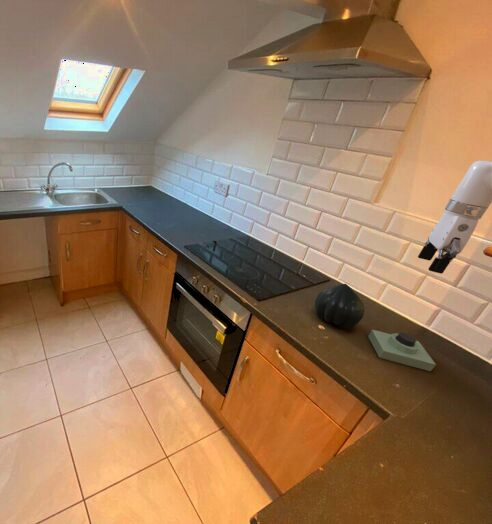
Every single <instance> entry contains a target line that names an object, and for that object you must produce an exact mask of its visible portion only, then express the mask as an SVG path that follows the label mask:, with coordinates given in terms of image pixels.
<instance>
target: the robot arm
mask: <svg viewBox="0 0 492 524" xmlns="http://www.w3.org/2000/svg"><path fill="white" fill-rule="evenodd" d="M490 205H492V160H484V159H483V160H482V159H481V160H476V161H474V162H473V163H471V165H470V166H469V167H468V169H467V171H466V173H465V174H464V175H463V177H462V179H461V181H460V183H459V184H458V185H457V187H456V189H455V191H454V192H453V193H452V195H451V197H450V199H449V200H448V202H447V204H446V206H445V207H444V209H443V212H444V213H443V214H442V215H441V217H440V219H439V220H438V221H437V223H436V224H435V226H434V227H433V229H432V230H431V232H430V234H429V236H428V237H427V241H426V242H425V243H424V245H423V247H422V249H421V250H420V252H419V253H418V255H417V258H418V259H422V260H425V261H432V262H431V264H430V265H429V267H428V269H427V270H428V271H429V272H431V273H432V272H433V273H437V274H440V275H441V274H444V272H445V271H446V269H447V267H448V266H449V265H450V263H451V262H453V260H454V259H456V258H457V255H459V254H461V253H462V252H463V250H464V249H465V247H466V245H467V244H468V242H469V241H470V239H471V237H472V235H473V233H474V231H475V230H476V227H477V225H478V223H479V220H481V219H482V218H483V216H484V215H485V213H486V212H487V210H488V208H489V207H490ZM437 251H438V254H437V257H434V256H435V254H436V253H437ZM433 258H434V259H433ZM432 259H433V260H432Z"/></svg>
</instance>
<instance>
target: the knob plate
mask: <svg viewBox="0 0 492 524" xmlns="http://www.w3.org/2000/svg"><path fill="white" fill-rule="evenodd" d="M398 335H399V333H387V332H383V331H380V330H375V329H371V330H370V331H369V333H368V334H367V337H368V339H369V341H370V342H371V345H372V347H373V348H374V350H375V352H376V354H377V356H378V358H380V359H383V360H386V361H391V362H394V363H397V364H401V365H405V366H409V367H413V368H415V369H416V368H417V369H420V370H424V371H427V372H432V370H433V369H435V367H436V366H437V364H436V363H435V361H434V360H433V359H432V357H431V356H430V355H429V353H428V352H427V350H426V349H425V348H424V346H423V345H422V344H421V343H420V341H419V340H416V342H415V344H414V345H413V346H412V347H409V346H406V345H404V344H402V343H400V342H399V341H397V340H396V338H397V336H398Z"/></svg>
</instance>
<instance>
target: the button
mask: <svg viewBox="0 0 492 524" xmlns="http://www.w3.org/2000/svg"><path fill="white" fill-rule="evenodd" d="M398 334H399V335H398V336H397V338H396V340H397V341H399V342H400V343H402V344H404V345H406V346H409V347H412V346H413V345H414V344H415V342H416V341H417V339H416V338H415V337H414V336H412V335H411V334H408V333H406V332H399V333H398Z"/></svg>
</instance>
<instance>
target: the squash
mask: <svg viewBox="0 0 492 524" xmlns="http://www.w3.org/2000/svg"><path fill="white" fill-rule="evenodd" d="M314 308H315V314H316V316H317V317H318V319H320V320H322V321H324V322H326V323H327V324H333V325H335V326H337V327H338V328H341V329H343V330H350V329H352V328H354V327H355V326H356V325H357V324H359V323H360V321H362V319H363V318H364V315H365V312H366V311H365V304H364V302H363V301H362V299H361V298H360V297H359V296H358V294H357V293H356V292H355V291H354V289H352V287H351V286H349V284H347V283H342V284H338V285H334V286H331V287H328V288H325V289H323V290H322V291H320V292H319V293H318V295H317V296H316V297H315V301H314Z"/></svg>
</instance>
